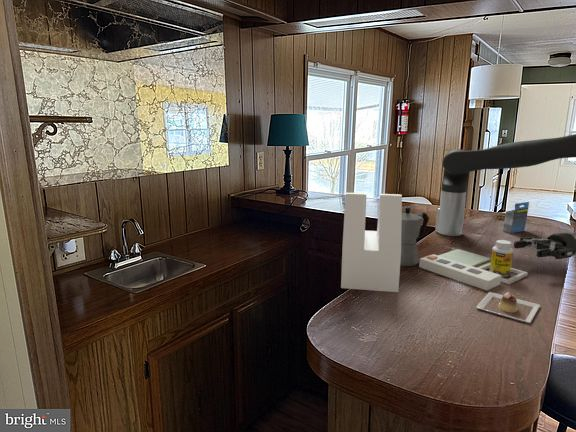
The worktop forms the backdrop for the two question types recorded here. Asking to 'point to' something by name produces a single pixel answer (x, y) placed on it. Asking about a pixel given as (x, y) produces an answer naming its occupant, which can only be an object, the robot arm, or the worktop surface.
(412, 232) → the coffeepot
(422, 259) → the power strip
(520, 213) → the label tape box
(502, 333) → the worktop surface
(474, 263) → the mat
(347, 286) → the white slotted block
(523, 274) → the white square frame
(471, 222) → the worktop surface
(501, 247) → the supplement bottle
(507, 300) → the dessert
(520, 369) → the worktop surface
